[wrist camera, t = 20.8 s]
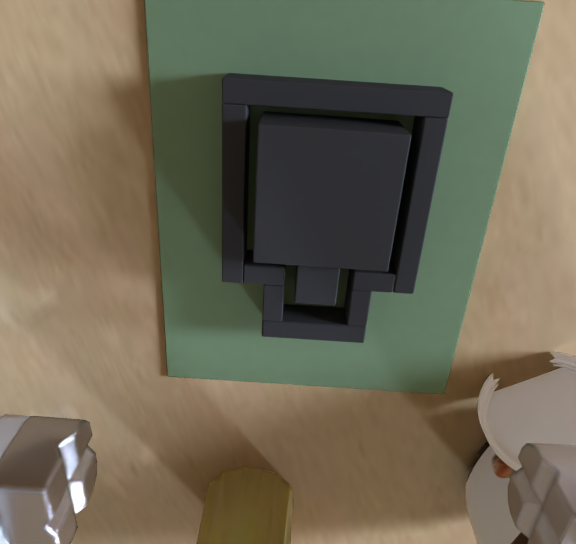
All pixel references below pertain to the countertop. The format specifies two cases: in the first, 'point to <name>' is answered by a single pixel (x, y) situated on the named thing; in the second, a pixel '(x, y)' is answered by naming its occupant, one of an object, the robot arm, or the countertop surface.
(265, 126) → the plug
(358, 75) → the socket mat
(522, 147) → the countertop surface
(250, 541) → the vase
